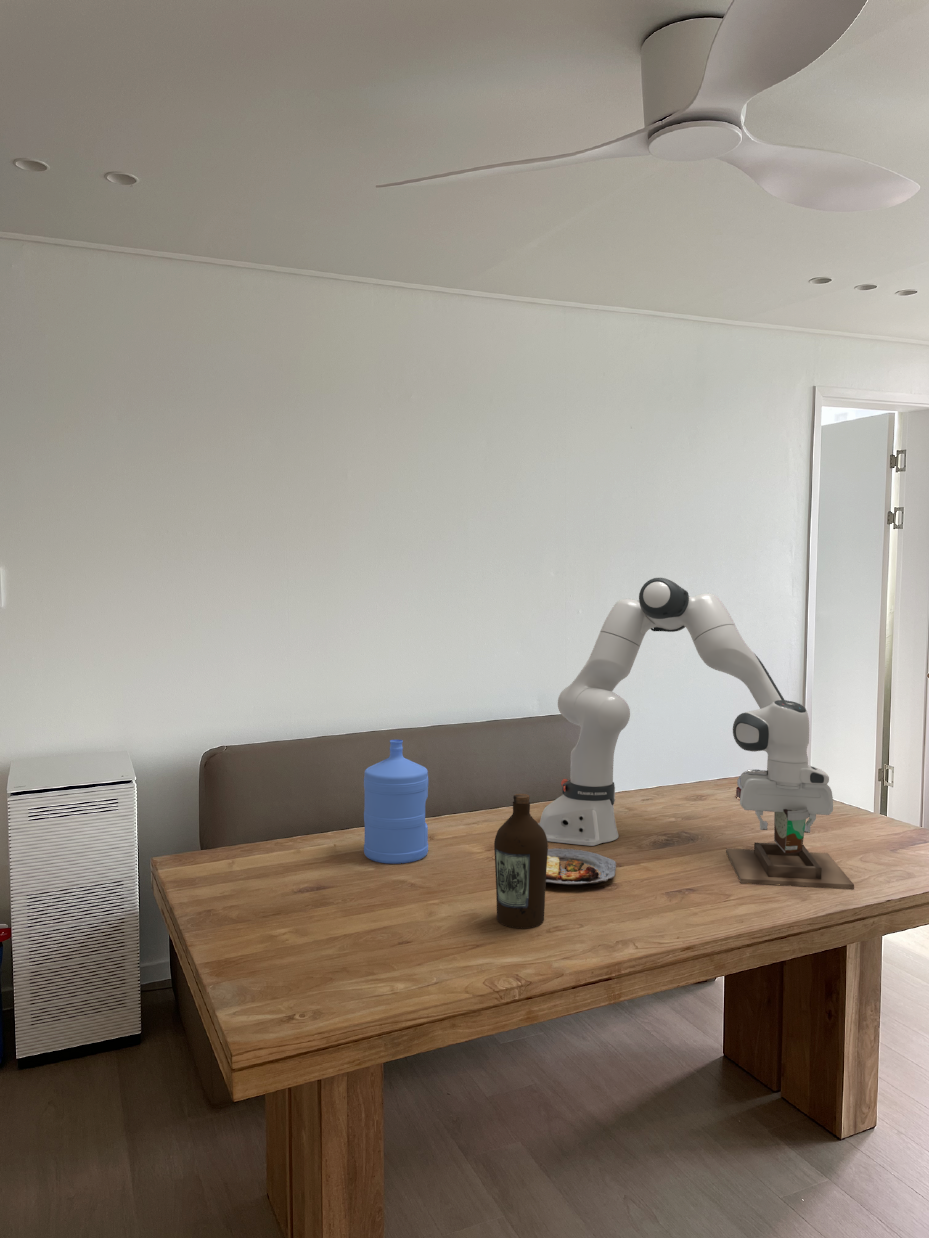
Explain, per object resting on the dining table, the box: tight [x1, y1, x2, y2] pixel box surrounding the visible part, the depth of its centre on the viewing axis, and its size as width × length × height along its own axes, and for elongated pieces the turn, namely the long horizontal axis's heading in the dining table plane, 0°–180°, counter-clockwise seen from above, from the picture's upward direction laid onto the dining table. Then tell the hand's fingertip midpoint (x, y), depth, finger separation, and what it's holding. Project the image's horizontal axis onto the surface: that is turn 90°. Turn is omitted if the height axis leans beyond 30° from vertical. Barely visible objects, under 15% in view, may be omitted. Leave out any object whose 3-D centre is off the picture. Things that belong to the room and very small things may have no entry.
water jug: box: [363, 739, 429, 865], centre depth 218 cm, size 16×16×28 cm
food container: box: [773, 807, 809, 853], centre depth 207 cm, size 12×6×10 cm, turn 175°
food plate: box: [546, 848, 617, 886], centre depth 206 cm, size 25×23×4 cm
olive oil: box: [493, 793, 549, 929], centre depth 178 cm, size 11×11×25 cm
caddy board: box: [725, 841, 855, 890], centre depth 209 cm, size 24×22×4 cm
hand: (784, 830), depth 208 cm, fingers open, 8 cm apart
